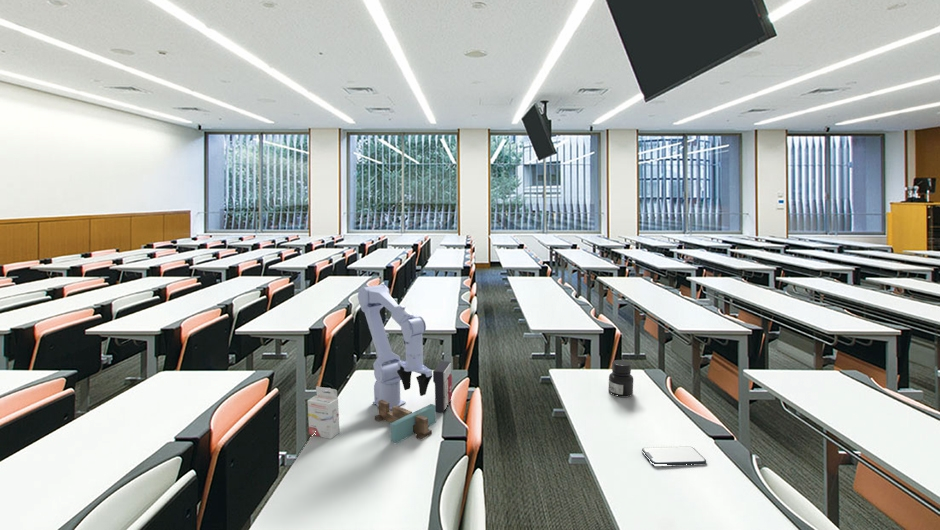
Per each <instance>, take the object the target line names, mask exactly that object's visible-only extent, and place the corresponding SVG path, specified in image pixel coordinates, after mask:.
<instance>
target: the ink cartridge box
mask: <svg viewBox="0 0 940 530" xmlns="http://www.w3.org/2000/svg"><path fill="white" fill-rule="evenodd" d="M315 391H316V395H314V396H313V397H311V398H309V399H308V400H307V418H308V434H309V435H310V436H314V435H315V434H316V436H315V437H319V436H320V438H324V439H329V440H332V439H333V438H335V436H337V435H338V434H339V433H340V414H339V412H340V411H339V410H340V409H339V398H338V390H337V389H335V388H329V387H324V386H323V387H322V386H318V385H317V386H315ZM326 391H327V392H326ZM315 431H316V432H315ZM314 433H315V434H314ZM313 434H314V435H313Z"/></svg>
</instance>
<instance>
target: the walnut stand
mask: <svg viewBox="0 0 940 530" xmlns="http://www.w3.org/2000/svg"><path fill="white" fill-rule="evenodd" d="M377 407H378V410H377V411H378V414H377V415H374V420H375V421H377V422H380V421H382V420H383V421H385V422H387V423H389V424H390V423H392V422H394V421H396V420H398V419H401V418H403V417H405V416H407V415H409V414H411V413H413V411H412V410H409V409H406V408H403V407H401V406H396V405H395V406H393V407H392V411H391V410H390V407H389V402H386V401H384V400H380V401H378V405H377ZM415 417H416V424H415V425H413V434H415V435H416V436H415V437H416V439H417V440H420V441H422V440H423V439H425V438H427V437H429V436H431V435H432V434H433V430H432V429H430V428H429V426H428V418H426V417H424V416H421V415H417V416H415Z"/></svg>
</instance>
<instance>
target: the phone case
mask: <svg viewBox="0 0 940 530" xmlns="http://www.w3.org/2000/svg"><path fill="white" fill-rule="evenodd" d="M642 451H643V452H644V453H645V455H646V456H647V457H648V458H649V459H650V461H651V462H652V463H654V464H667V465H686V464H687V465H690V466H695V465H694V464H705V465H707V459H705V457H703V456H702V455H701V454H700V453H699V452H698V451H697V450H696V448H695V447H692V446H661V447H659V446H658V447H657V446H656V447H643V448H642V449H641V452H642ZM691 464H692V465H691Z"/></svg>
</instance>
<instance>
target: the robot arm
mask: <svg viewBox="0 0 940 530" xmlns="http://www.w3.org/2000/svg"><path fill="white" fill-rule="evenodd" d="M357 299H358V303H359V306H360V308H361V309H360V310H361V311H362V312H363V313H364V316H365V318H366V322H367V325H368V329H369V332H370V335H371V338H372V341H373V345H374V348H375V351H376V354H377V355H376V356H377V357H376V359H375V361H374V362H373V364H372V366H373V370H374V371H373V372H374V378H375V380H376V381H375V382H374V385H373V393H374V394H373V395H374V398H373V399H374V401H372V404H373V403H374V404H373V405H375V404H376V406H378V401H380V400H384V401H386V402H389V407H390V411H391V410H392V407H393V406H395V405H396V406H399V407H401V406H402V405H405V404H406V401H404V400H402V399H401V382H402V385H403V389H404V390H405V391H408V390H409V389H411V386H412V385H411V382H412V381H411V379H412V373H413V372H414V373H416V374H420V375H418V376H416V380H417V383H418V388H419V396H421V397H423V396H425V395H427V390H428V387H429V385H430V381H431V380H432V379H433V369H430V368H428V367H427V366H426V365H424V360H423V359H424V358H423V357H424V353H423V351H424V350H423V334H424V333H425V332H426V329H427V326H426V321H425V320H424V318H423V317H422V316H417V315H414V314H413V313H412V312H411V311H410V310H409V309H408V308H407V307H406V306H405V305H403V304H400V305H399V304H398V303H397V301H396V300H395V299H394V298H393V297H392V296H391V295H390V288H389V287H388V286H387V285H386V284H384V283H381V284H375V285H369V286H362V287H361V286H360V288H359V289H358V294H357ZM383 308H385V309H386V310H388V311H389V312H390V313H391V318H392V320H394V321H395V323H396V324H398V326H400V329H401V333H402V336H403V341H404V342H405V345H404V346H405V347H404V348H405V361H404V360H401V357H400V355H398V354H396V353H394V352H393V351H392V349H391V344H390V342H389V339H388V334H387V333H386V329H385V325H384V322H383V320H382V319H383V318H382V316H381V313H380V311H381V310H382V309H383Z"/></svg>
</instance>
